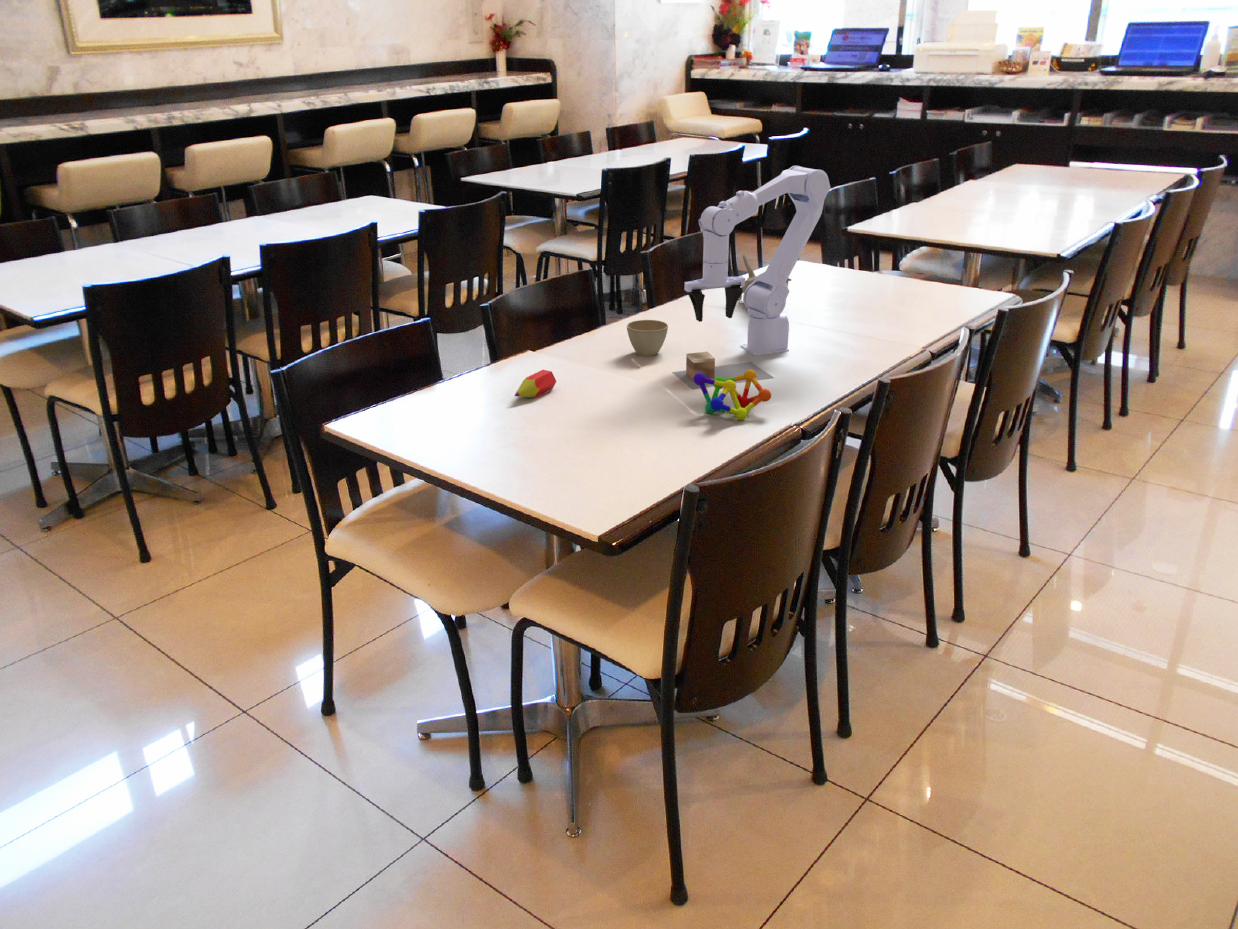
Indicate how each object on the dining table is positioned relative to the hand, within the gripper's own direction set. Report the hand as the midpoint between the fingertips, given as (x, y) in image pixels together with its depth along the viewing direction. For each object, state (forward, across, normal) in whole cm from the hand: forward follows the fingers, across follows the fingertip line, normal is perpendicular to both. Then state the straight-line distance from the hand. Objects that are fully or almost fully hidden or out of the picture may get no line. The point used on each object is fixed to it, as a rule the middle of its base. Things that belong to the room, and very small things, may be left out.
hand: (714, 318), depth 220 cm
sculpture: (+10, -30, -35) cm, 47 cm away
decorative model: (+10, +11, +33) cm, 36 cm away
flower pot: (+10, +13, -10) cm, 19 cm away
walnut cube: (+5, +8, +11) cm, 15 cm away
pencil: (+10, +47, +8) cm, 49 cm away
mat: (+10, +3, +12) cm, 16 cm away
